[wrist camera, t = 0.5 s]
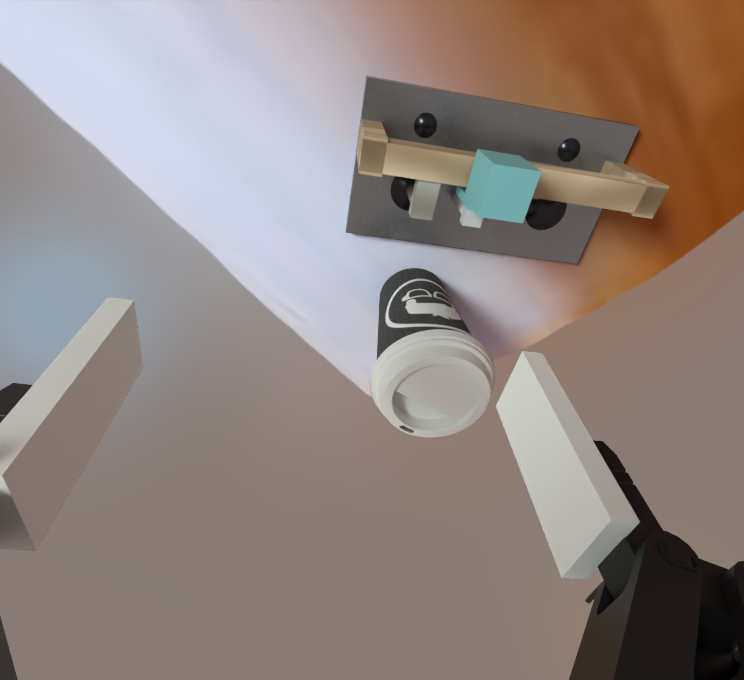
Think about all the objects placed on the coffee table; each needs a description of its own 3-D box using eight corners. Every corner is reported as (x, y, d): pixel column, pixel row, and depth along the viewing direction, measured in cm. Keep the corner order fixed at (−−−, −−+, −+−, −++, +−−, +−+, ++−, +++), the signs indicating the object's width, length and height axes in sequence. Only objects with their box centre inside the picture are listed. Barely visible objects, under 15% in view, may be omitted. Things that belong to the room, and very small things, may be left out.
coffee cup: (345, 287, 44) (344, 388, 31) (430, 234, 41) (466, 322, 29) (396, 351, 48) (413, 461, 36) (475, 307, 46) (522, 410, 33)
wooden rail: (361, 118, 34) (363, 135, 29) (623, 163, 37) (669, 186, 32) (352, 186, 37) (352, 213, 32) (595, 223, 40) (633, 253, 35)
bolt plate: (366, 75, 33) (367, 77, 33) (633, 124, 36) (640, 127, 35) (346, 228, 40) (346, 232, 39) (572, 259, 43) (577, 264, 42)
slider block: (457, 130, 35) (493, 163, 26) (494, 136, 35) (541, 171, 27) (439, 201, 38) (466, 252, 29) (473, 206, 38) (510, 258, 30)
